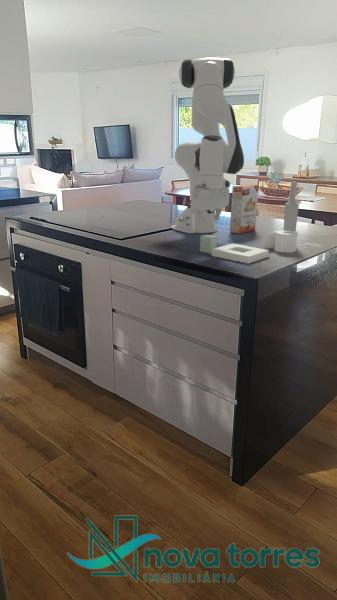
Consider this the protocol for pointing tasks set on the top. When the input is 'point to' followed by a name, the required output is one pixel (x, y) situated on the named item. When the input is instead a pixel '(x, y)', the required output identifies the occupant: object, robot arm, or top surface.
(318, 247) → the top surface
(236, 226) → the cracker box
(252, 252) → the socket plate
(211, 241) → the plug
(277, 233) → the toilet paper
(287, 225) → the bottle
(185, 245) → the top surface
